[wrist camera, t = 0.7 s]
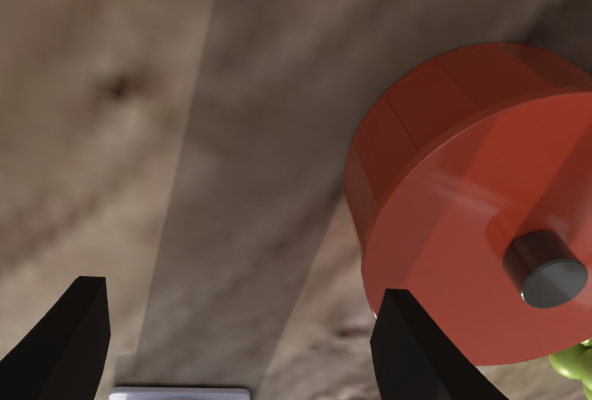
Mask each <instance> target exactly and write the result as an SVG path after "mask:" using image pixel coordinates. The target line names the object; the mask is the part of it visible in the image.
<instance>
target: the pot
mask: <svg viewBox="0 0 592 400" xmlns="http://www.w3.org/2000/svg"><path fill="white" fill-rule="evenodd" d="M571 86H592V76H591V75H589V74H588V73H586V72H584V71H583V70H581V69H579V68H578V67H576V66H575V65H573V64H571V63H570V62H568V61H566V60H565V59H563V58H561V57H560V56H558V55H556V54H555V53H553V52H552V51H548V50H544V49H540V48H537V47H534V46H530V45H525V44H519V43H509V42H492V43H480V44H475V45H470V46H466V47H461V48H458V49H455V50H452V51H449V52H446V53H443V54H441V55H439V56H437V57H434V58H432V59H430V60H428V61H426V62H424V63H422V64H421V65H419V66H418V67H416V68H414V69H413V70H411V71H410V72H408V73H407V74H405V75H404V76H403V77H402V78H400V79H399V80H398V81H397V82H395V83H394V84H393V85H392V86H390V88H389V89H388V90H387V91H386V92H385V93H384V94H383V95H382V96H381V97H380V98H379V99H378V100H377V101H376V102H375V104H374V105H373V106H372V107H371V109H370V110H369V111H368V113H367V114H366V116H365V117H364V119H363V121H362V122H361V124H360V125H359V127H358V129H357V131H356V133H355V136H354V138H353V140H352V142H351V145H350V148H349V152H348V155H347V159H346V165H345V172H344V186H343V187H344V193H345V197H346V202H347V205H348V209H349V213H350V217H351V221H352V225H353V228H354V232H355V235H356V238H357V242H358V245H359V248H360V252H362V246H363V241H364V236H365V233H366V230H367V227H368V224H369V221H370V218H371V216H372V214H373V212H374V210H375V208H376V206H377V204H378V202H379V200H380V198H381V197H382V195H383V194H384V192H385V191H386V189H387V188H388V186H389V185H390V183H391V182H392V180H393V179H394V178H395V177H396V176H397V175H398V173H399V172H400V171H401V170H402V169H403V168H404V166H405V165H406V164H407V163H408V162H409V161H410V160H411V159H412V158H413V157H414V156H415V155H416V154H417V153H419V152H420V151H421V150H422V149H423V148H424V147H425V146H426V145H427V144H428V143H430V142H431V141H432V140H434V139H435V138H437V137H438V136H439V135H441V134H442V133H443V132H445V131H446V130H447V129H449V128H450V127H452V126H454V125H455V124H457V123H459V122H460V121H462V120H464V119H466V118H467V117H469V116H471V115H472V114H474V113H477V112H479V111H481V110H483V109H485V108H487V107H490V106H492V105H494V104H496V103H499V102H502V101H505V100H508V99H511V98H514V97H517V96H520V95H523V94H526V93H531V92H536V91H540V90H545V89H550V88H560V87H571Z"/></svg>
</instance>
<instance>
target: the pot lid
mask: <svg viewBox="0 0 592 400" xmlns="http://www.w3.org/2000/svg"><path fill="white" fill-rule="evenodd" d="M361 275H362V281H363V287H364V291H365V294H366V297H367V300H368V303H369V305H370V308H371V310H372V312H373V314H374V315H375V317H376V319H377V316H378V313H379V310H380V307H381V303H382V300H383V297H384V293H385V290H386V288H391V289H408V290H409V291H410V292H411V293H412V295H413V296H414V297H415V298H416V299H417V301H418V302H419V303H420V304H421V306H422V307H423V308H424V309H425V310H426V312H427V313H428V314H429V315H430V316H431V318H432V319H433V320H434V321H435V322H436V324H437V325H438V326H439V327H440V328H441V330H442V331H443V332H444V333H445V334H446V336H447V337H448V338H449V339H450V340H451V341H452V342H453V343H454V345H455V346H456V347H457V348H458V349H459V350H460V351H461V352H462V354H463V355H464V356H465V357H466V358H467V359H468V360H469V361H470V362H471V363H472V364H473V365H474V366H494V365H504V364H513V363H518V362H523V361H528V360H533V359H537V358H540V357H544V356H547V355H551V354H554V353H557V352H559V351H562V350H565V349H568V348H570V347H573V346H575V345H577V344H579V343H582V342H584V341H586V340H588V339H590V338H592V86H571V87H560V88H550V89H545V90H540V91H536V92H531V93H526V94H523V95H520V96H517V97H514V98H511V99H508V100H505V101H502V102H499V103H496V104H494V105H492V106H490V107H487V108H485V109H483V110H481V111H479V112H477V113H474V114H472V115H471V116H469V117H467V118H466V119H464V120H462V121H460V122H459V123H457V124H455V125H454V126H452V127H450V128H449V129H447V130H446V131H445V132H443V133H442V134H441V135H439V136H438V137H437V138H435V139H434V140H432V141H431V142H430V143H428V144H427V145H426V146H425V147H424V148H423V149H422V150H421V151H420V152H419V153H417V154H416V155H415V156H414V157H413V158H412V159H411V160H410V161H409V162H408V163H407V164H406V165H405V166H404V168H403V169H402V170H401V171H400V172H399V173H398V175H397V176H396V177H395V178H394V179H393V180H392V182H391V183H390V185H389V186H388V188H387V189H386V191H385V192H384V194H383V195H382V197H381V198H380V200H379V202H378V204H377V206H376V208H375V210H374V212H373V214H372V216H371V218H370V221H369V224H368V227H367V230H366V233H365V236H364V241H363V246H362V252H361Z"/></svg>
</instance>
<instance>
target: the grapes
mask: <svg viewBox="0 0 592 400" xmlns="http://www.w3.org/2000/svg"><path fill="white" fill-rule="evenodd" d="M549 358H550V361H551V364H552V365H553V367H554V368H555V369H556V370H557V371H558V372H559V373H560V374H561V375H563V376H565V377H567V378H571V379H581V380H582V382H583V388H584V392H585V394H586V396H587V398H588V399H589V400H592V338H590V339H588V340H586V341H584V342H582V343H579V344H577V345H575V346H573V347H570V348H568V349H565V350H562V351H559V352H557V353H554V354H551V355H549Z"/></svg>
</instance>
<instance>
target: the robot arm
mask: <svg viewBox="0 0 592 400" xmlns="http://www.w3.org/2000/svg"><path fill="white" fill-rule="evenodd" d="M110 336H111V332H110V321H109V310H108V300H107V289H106V278H105V277H91V276H79V277H78V278H77V279H75V280H74V282H73V283H72V284H71V285H70V287H69V288H68V289H67V290H66V291H65V293H64V294H63V295H62V296H61V297H60V298H59V300H58V301H57V302H56V303H55V304H54V305H53V307H52V308H51V309H50V310H49V311H48V312H47V313H46V314H45V316H44V317H43V318H42V319H41V320H40V321H39V322H38V323H37V324H36V325H35V326H34V327H33V329H32V330H31V331H30V332H29V333H28V334H27V335H26V336H25V337H24V338H23V339H22V340H21V341H20V342H19V343H18V344H17V345H16V346H15V347H14V348H13V349H12V350H11V351H10V352H9V353H8V354H7V355H6V356H5V357H4V358H3V359H2V360H1V361H0V400H94V398H95V395H96V392H97V389H98V386H99V383H100V380H101V377H102V374H103V370H104V365H105V360H106V356H107V351H108V346H109V341H110ZM370 345H371V351H372V358H373V365H374V371H375V376H376V381H377V384H378V388H379V391H380V395H381V398H382V400H509V399H508V398H507V397H506V396H504V395H503V394H502V393H501V392H500V391H499V390H498V389H497V388H496V387H495V386H494V385H493V384H492V383H491V382H489V381H488V380H487V378H486V377H485V376H484V375H483V374H482V373H481V372H480V371H479V370H478V369H477V368H476V367H475V366H474V365H473V364H472V363H471V362H470V361H469V360H468V359H467V358H466V357H465V356H464V355H463V354H462V352H461V351H460V350H459V349H458V348H457V347H456V346H455V345H454V343H453V342H452V341H451V340H450V339H449V338H448V337H447V336H446V334H445V333H444V332H443V331H442V330H441V328H440V327H439V326H438V325H437V324H436V322H435V321H434V320H433V319H432V318H431V316H430V315H429V314H428V313H427V312H426V310H425V309H424V308H423V307H422V306H421V304H420V303H419V302H418V301H417V299H416V298H415V297H414V296H413V295H412V293H411V292H410V291H409V290H408V289H391V288H386V290H385V293H384V297H383V300H382V303H381V307H380V310H379V313H378V316H377V320H376V323H375V326H374V330H373V333H372V336H371V340H370ZM108 399H109V400H250V392H249V391H248V390H246V389H242V388H171V387H114V388H112V389H111V390H110V392H109V396H108Z"/></svg>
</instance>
